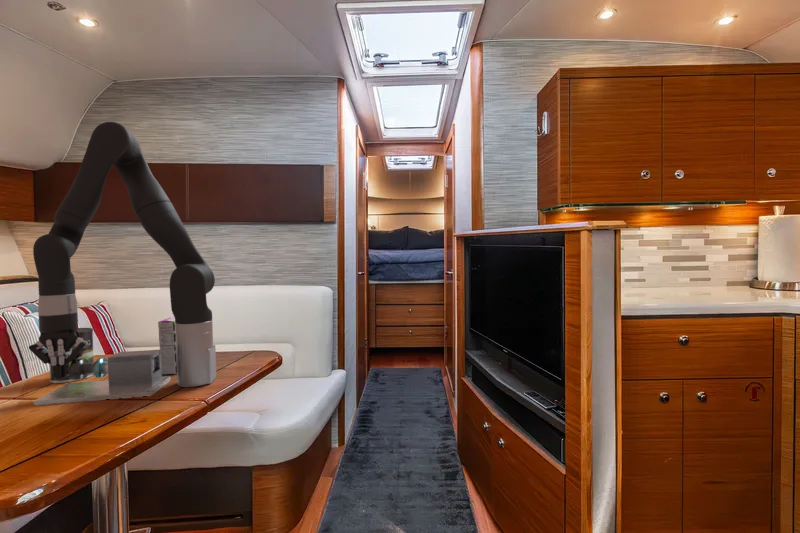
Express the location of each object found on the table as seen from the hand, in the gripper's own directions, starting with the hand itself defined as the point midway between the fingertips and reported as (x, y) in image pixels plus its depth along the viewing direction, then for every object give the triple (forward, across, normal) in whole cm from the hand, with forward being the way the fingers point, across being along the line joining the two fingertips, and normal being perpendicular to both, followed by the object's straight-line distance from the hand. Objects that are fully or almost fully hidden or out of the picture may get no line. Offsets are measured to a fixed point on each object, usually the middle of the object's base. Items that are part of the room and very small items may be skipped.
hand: (61, 378), depth 100 cm
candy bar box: (+5, -21, -18) cm, 28 cm away
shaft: (+1, -12, 0) cm, 12 cm away
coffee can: (+5, +7, -16) cm, 18 cm away
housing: (+4, -11, 0) cm, 11 cm away
